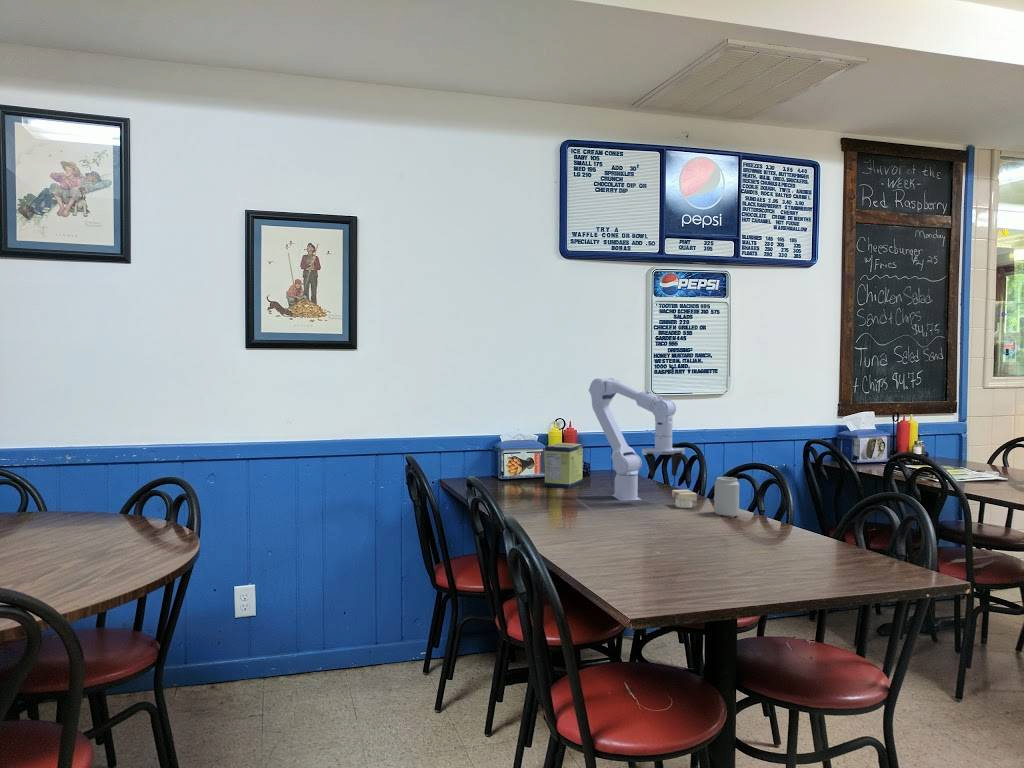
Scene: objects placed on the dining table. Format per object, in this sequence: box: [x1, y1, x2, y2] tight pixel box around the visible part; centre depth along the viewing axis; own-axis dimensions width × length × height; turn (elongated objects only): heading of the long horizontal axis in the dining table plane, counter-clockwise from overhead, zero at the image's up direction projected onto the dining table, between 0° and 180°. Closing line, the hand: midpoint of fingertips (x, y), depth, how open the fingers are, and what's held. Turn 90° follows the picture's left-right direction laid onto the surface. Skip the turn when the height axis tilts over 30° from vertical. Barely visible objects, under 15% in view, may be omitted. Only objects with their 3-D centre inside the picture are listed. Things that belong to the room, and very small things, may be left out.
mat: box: [630, 501, 668, 511], centre depth 250 cm, size 12×9×1 cm
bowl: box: [675, 499, 693, 509], centre depth 249 cm, size 5×5×3 cm
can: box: [713, 476, 740, 518], centre depth 238 cm, size 8×8×12 cm
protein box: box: [544, 442, 584, 489], centre depth 294 cm, size 10×16×16 cm
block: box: [671, 489, 698, 502], centre depth 249 cm, size 8×6×2 cm
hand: (663, 475), depth 254 cm, fingers open, 7 cm apart
